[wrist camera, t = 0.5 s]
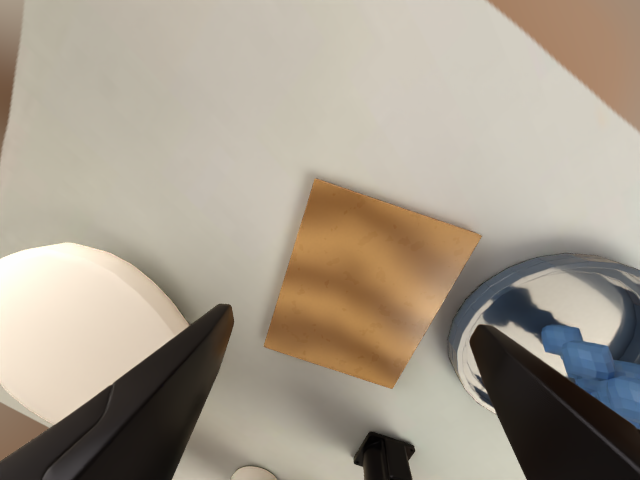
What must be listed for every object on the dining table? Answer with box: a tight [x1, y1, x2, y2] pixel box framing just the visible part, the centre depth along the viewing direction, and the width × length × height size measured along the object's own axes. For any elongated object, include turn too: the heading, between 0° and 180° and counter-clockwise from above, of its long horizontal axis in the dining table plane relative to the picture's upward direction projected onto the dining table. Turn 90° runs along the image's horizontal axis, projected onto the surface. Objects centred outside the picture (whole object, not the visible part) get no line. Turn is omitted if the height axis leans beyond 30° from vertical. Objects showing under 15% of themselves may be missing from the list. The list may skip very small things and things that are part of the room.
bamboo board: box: [264, 179, 482, 389], centre depth 24 cm, size 20×16×1 cm
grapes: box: [541, 324, 640, 429], centre depth 18 cm, size 12×7×12 cm, turn 54°
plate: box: [0, 243, 189, 425], centre depth 27 cm, size 28×6×27 cm
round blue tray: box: [448, 253, 640, 414], centre depth 23 cm, size 19×19×2 cm
